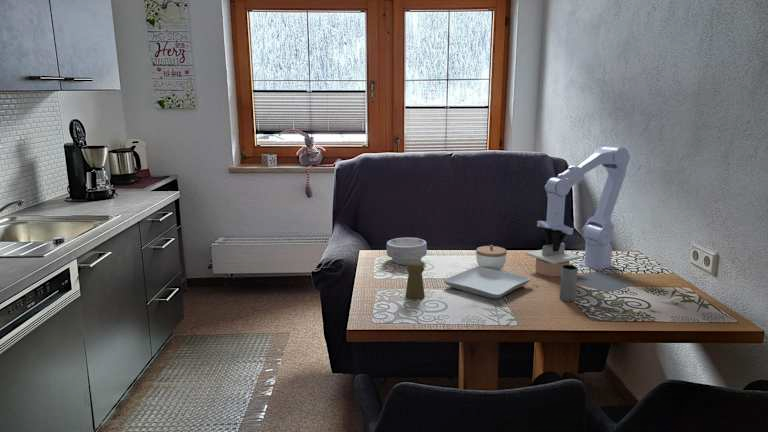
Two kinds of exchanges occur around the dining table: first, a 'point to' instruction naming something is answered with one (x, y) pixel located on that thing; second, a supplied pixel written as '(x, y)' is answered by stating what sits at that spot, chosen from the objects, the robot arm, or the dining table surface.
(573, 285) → the planter
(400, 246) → the grey round bowl
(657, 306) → the dining table surface
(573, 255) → the cover
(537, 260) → the bowl
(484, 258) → the lidded jar
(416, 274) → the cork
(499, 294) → the salad plate
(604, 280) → the mat
